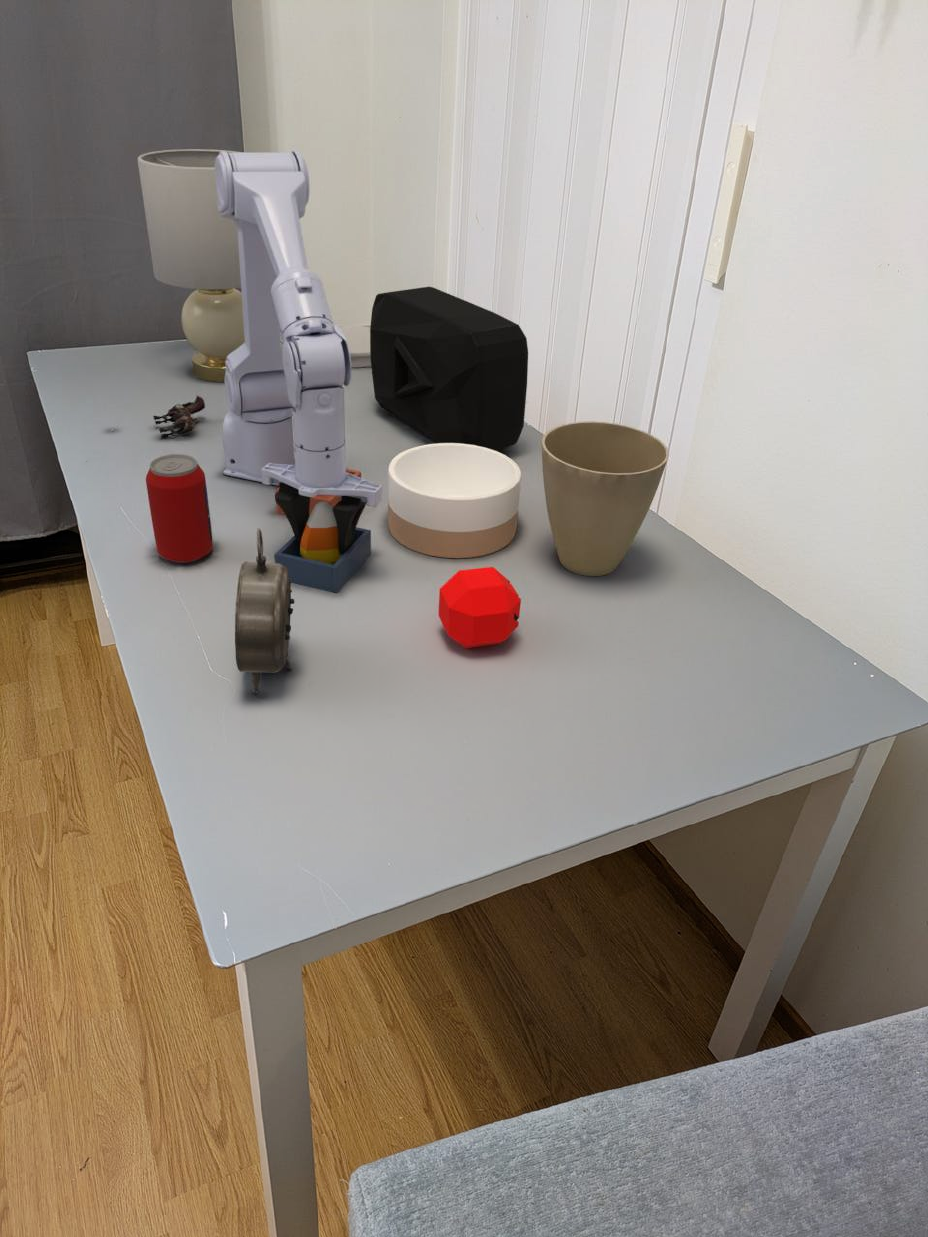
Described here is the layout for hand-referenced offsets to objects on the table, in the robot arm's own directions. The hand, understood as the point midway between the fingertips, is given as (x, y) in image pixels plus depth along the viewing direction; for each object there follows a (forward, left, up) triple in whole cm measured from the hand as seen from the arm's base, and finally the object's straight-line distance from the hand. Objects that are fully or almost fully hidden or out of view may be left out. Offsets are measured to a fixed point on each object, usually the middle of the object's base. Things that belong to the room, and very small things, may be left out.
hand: (323, 546), depth 111 cm
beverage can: (-17, -4, -3) cm, 18 cm away
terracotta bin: (-8, +15, -3) cm, 17 cm away
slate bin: (0, 0, -3) cm, 3 cm away
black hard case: (-2, +46, -3) cm, 46 cm away
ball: (+22, -7, -3) cm, 23 cm away
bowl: (+11, +16, -3) cm, 20 cm away
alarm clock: (+4, -21, -3) cm, 22 cm away
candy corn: (0, 0, -2) cm, 2 cm away
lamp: (-47, +55, -3) cm, 72 cm away
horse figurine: (-41, +27, -3) cm, 49 cm away
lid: (-32, +74, -3) cm, 81 cm away
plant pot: (+30, +14, -3) cm, 33 cm away
